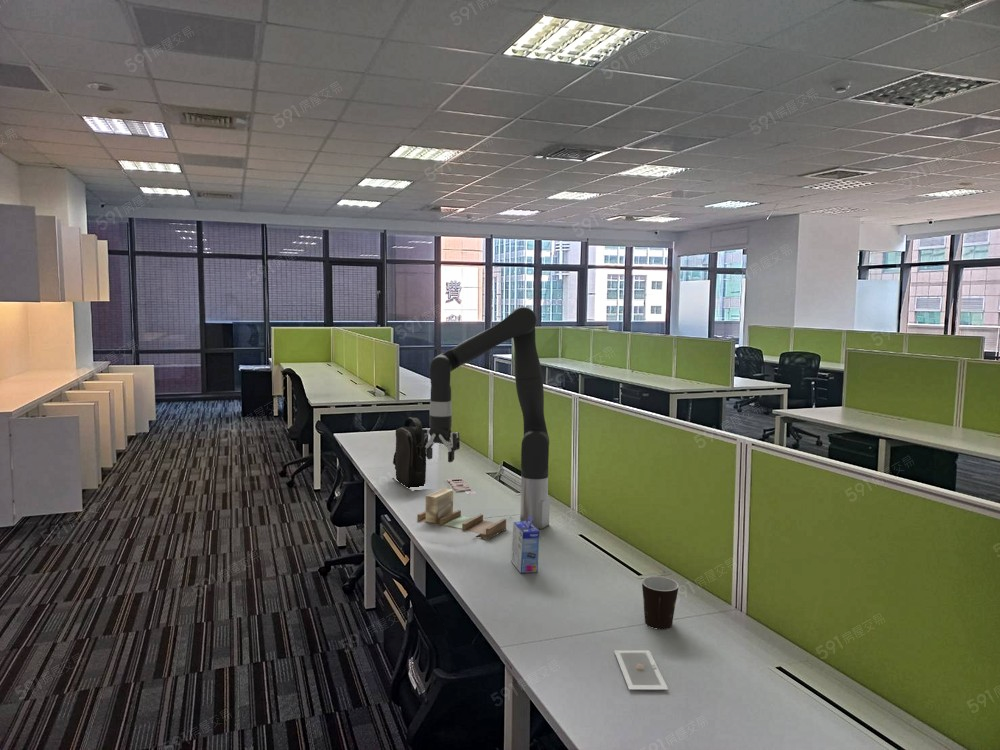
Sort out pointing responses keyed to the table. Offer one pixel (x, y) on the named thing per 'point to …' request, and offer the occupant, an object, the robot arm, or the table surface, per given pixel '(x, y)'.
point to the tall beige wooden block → (439, 505)
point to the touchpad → (640, 670)
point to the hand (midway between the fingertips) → (440, 460)
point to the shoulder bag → (410, 455)
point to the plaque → (460, 483)
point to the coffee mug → (659, 601)
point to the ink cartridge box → (525, 546)
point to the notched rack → (469, 524)
